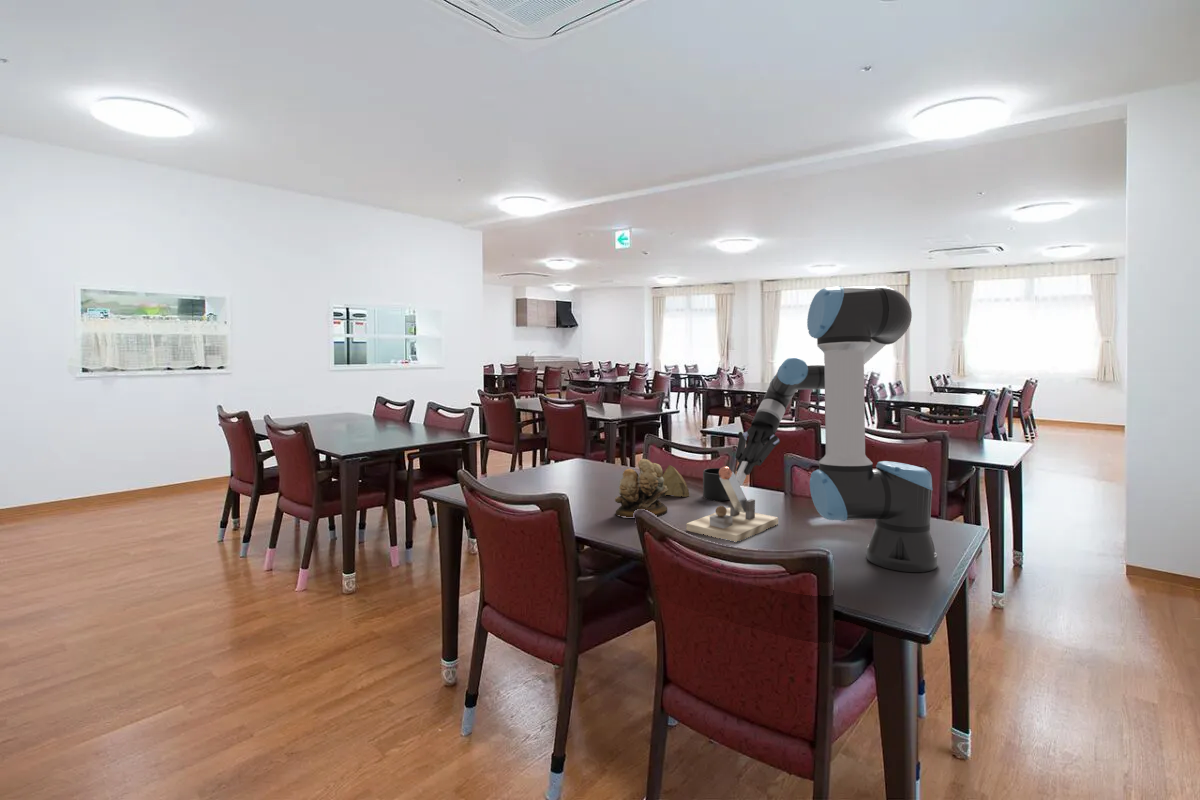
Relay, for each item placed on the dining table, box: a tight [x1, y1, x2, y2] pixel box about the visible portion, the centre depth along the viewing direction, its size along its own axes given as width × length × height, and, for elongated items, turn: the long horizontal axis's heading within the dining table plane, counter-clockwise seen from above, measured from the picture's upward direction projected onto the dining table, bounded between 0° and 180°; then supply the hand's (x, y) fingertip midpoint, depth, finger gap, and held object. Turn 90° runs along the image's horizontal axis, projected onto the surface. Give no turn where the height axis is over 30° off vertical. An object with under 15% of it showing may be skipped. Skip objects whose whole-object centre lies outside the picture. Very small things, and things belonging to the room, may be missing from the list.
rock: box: [662, 464, 690, 498], centre depth 210 cm, size 11×9×10 cm
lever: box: [719, 465, 748, 513], centre depth 173 cm, size 4×4×17 cm
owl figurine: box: [614, 458, 668, 517], centre depth 189 cm, size 18×12×17 cm, turn 119°
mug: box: [702, 467, 730, 502], centre depth 205 cm, size 9×12×9 cm
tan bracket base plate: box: [686, 498, 779, 542], centre depth 174 cm, size 22×16×7 cm
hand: (737, 482), depth 175 cm, fingers closed
